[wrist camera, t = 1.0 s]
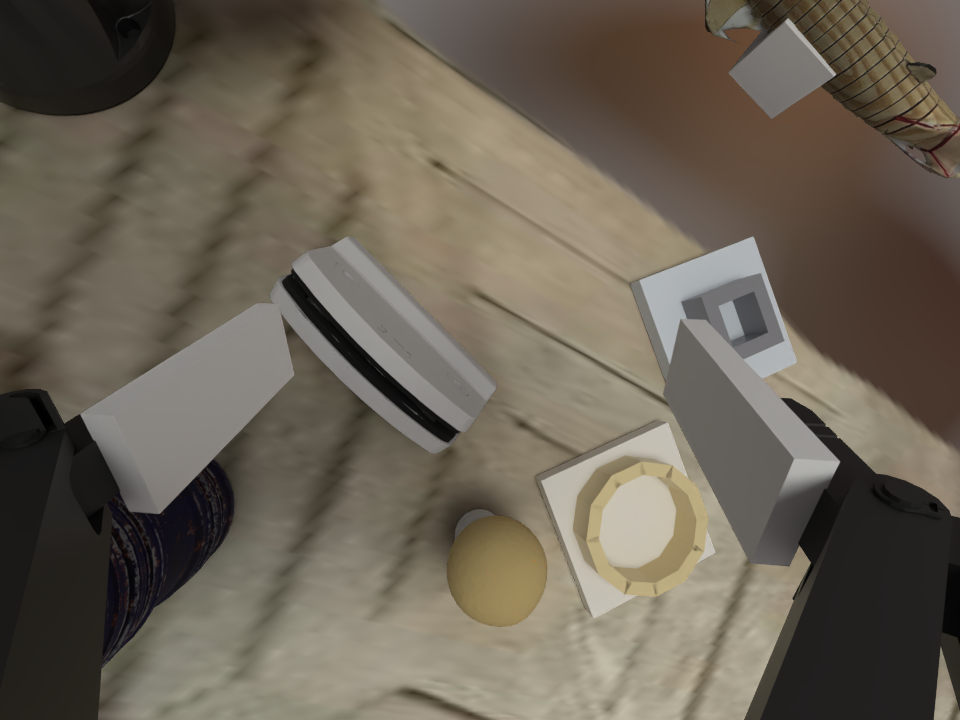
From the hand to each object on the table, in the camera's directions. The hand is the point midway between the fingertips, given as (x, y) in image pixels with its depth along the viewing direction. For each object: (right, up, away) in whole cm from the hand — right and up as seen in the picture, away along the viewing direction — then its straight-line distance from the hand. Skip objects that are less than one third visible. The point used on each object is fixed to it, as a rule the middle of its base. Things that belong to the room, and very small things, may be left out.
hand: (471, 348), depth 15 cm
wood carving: (+29, +25, +27) cm, 47 cm away
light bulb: (0, -14, +20) cm, 25 cm away
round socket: (+12, -13, +23) cm, 29 cm away
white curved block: (-7, +1, +20) cm, 21 cm away
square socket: (+21, +3, +25) cm, 33 cm away
